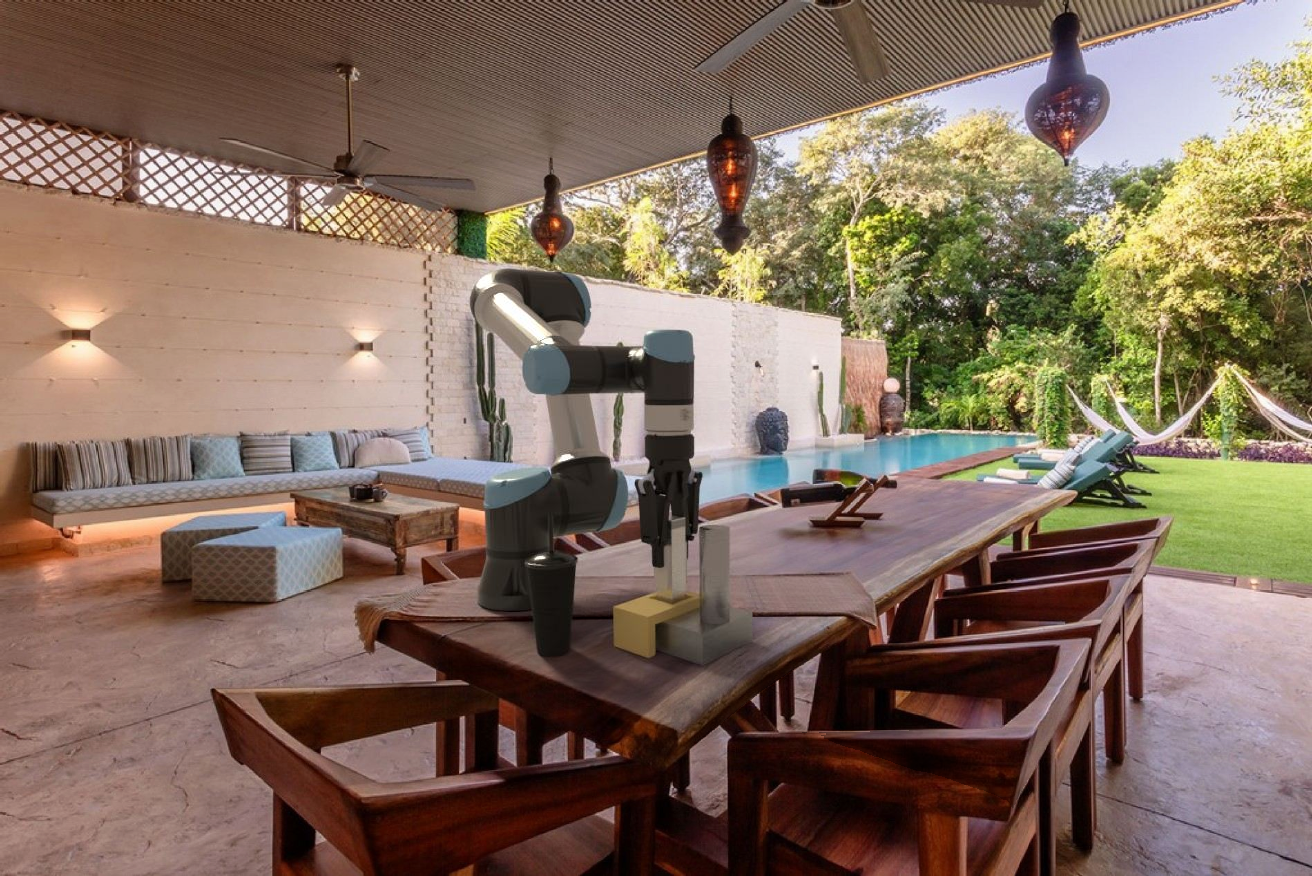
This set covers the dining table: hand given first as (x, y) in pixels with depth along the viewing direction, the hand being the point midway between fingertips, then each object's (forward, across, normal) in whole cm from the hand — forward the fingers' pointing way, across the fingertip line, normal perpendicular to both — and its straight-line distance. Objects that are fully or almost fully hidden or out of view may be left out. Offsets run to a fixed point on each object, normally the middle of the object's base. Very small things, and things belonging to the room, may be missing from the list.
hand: (670, 584), depth 109 cm
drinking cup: (+8, -16, +9) cm, 20 cm away
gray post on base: (+8, 0, -3) cm, 9 cm away
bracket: (+8, -2, 0) cm, 8 cm away
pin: (+6, 0, 0) cm, 6 cm away
